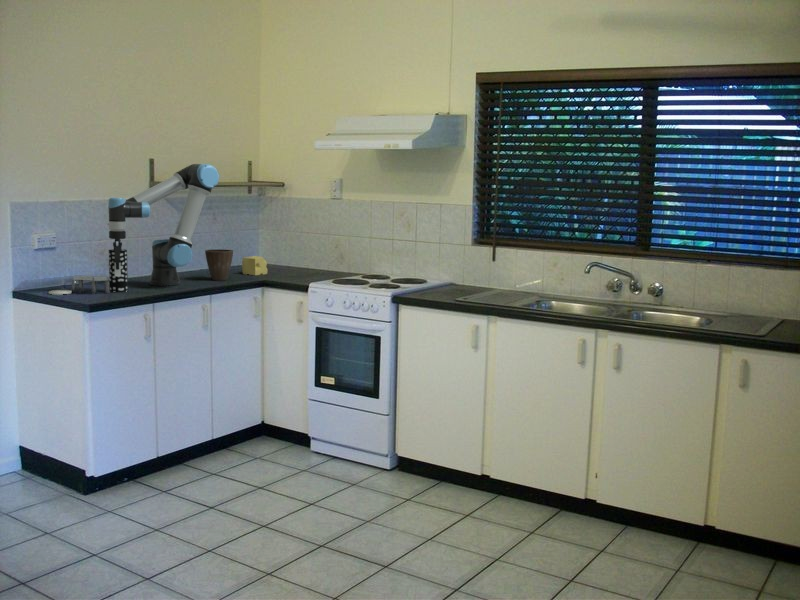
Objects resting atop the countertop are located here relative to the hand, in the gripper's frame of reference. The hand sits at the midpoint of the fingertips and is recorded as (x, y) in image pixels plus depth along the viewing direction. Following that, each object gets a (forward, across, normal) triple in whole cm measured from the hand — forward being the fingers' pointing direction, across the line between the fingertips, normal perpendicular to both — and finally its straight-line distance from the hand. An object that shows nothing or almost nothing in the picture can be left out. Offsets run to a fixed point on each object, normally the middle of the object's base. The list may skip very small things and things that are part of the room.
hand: (118, 274), depth 399 cm
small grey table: (+8, +3, -13) cm, 15 cm away
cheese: (+8, -61, +73) cm, 96 cm away
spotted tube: (+8, 0, 0) cm, 8 cm away
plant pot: (+8, -38, +51) cm, 64 cm away
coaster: (+8, +3, -26) cm, 27 cm away
